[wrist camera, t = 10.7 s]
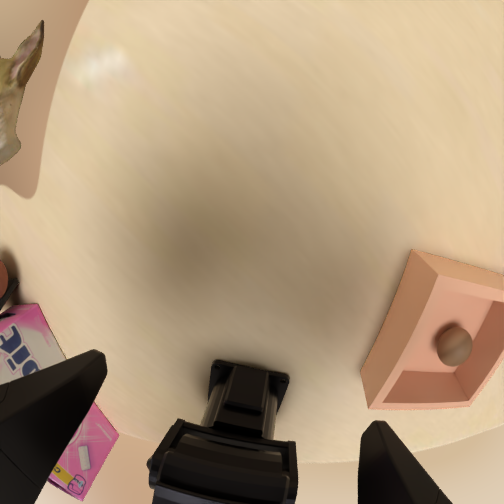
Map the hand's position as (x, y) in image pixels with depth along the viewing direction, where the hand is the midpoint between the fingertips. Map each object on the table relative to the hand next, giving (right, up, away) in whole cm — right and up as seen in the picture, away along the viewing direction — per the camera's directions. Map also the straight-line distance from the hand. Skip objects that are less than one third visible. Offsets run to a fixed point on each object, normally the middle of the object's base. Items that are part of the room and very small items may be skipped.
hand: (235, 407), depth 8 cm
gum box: (-24, -12, +21) cm, 34 cm away
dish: (+16, -1, +11) cm, 19 cm away
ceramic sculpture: (-23, +20, +10) cm, 32 cm away
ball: (+16, -3, +9) cm, 19 cm away
